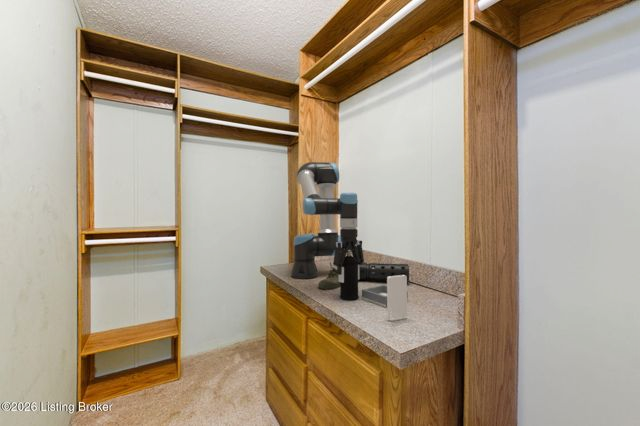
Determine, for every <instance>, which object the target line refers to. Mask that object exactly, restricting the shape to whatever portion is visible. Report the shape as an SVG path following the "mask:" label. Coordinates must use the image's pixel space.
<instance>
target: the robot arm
mask: <svg viewBox="0 0 640 426" xmlns="http://www.w3.org/2000/svg"><path fill="white" fill-rule="evenodd" d="M296 180H297V182H298V184H300V187H301V190H302V195H303V197H304V199H303V200H302V212H303V214H305V215H311V216H316V215H317V216H319V231H318V232H317V235H315V233H314V232H311V233H303V234H298V235H296V236H294V238H293V264H292V268H291V270H290V271H291V272H290V277H292V278H294V279H313V278H316V277H318V275H319V271H318V268H317V265H316V261H315V257H333V256H334V257H333V263H332V266H335V267H336V269H337V274H339V282H342V283H344V267H342V265H343V262H344V259H345V257H346V256H347V252H348V251H351V256H352V257H355V258H356V259H357V260H358V261H359V262H358V281H360V280H359V271H360V265H362V262H365V258H364V252H363V240H360V239H359V240H358V239H357V238H358V236H359V235H358V229H357V228H358V203H359V201H358V194H357V193H356V192H341V193H340V194H339V198H335V187H336V186H337V184H338V183H339V182H340V170H339V167H338V165H337V163H335V162H322V161H319V162H317V161H315V162H313V161H308V162H307V163H304V164H302V165H301V166H300V167H299V168H298V170H297V172H296ZM336 215H339V228H340V230H339V231H340V233H338V231H337V230H336V223H335V222H336V221H335V220H336V219H335V218H336V217H335V216H336ZM339 234H340V235H339Z"/></svg>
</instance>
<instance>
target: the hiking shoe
mask: <svg viewBox="0 0 640 426" xmlns="http://www.w3.org/2000/svg"><path fill="white" fill-rule="evenodd" d="M329 266H330V270H329V272H328V275H327V276H326V277H325V278H324V279H322V280H320V281H319V283H318V286H317V287H318V289H321V290H325V291H326V290H327V291H329V290H330V291H331V290H337V289H339V288H340V282H339V274H337V268H335V267H333V264H332V263H331V262H329Z"/></svg>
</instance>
